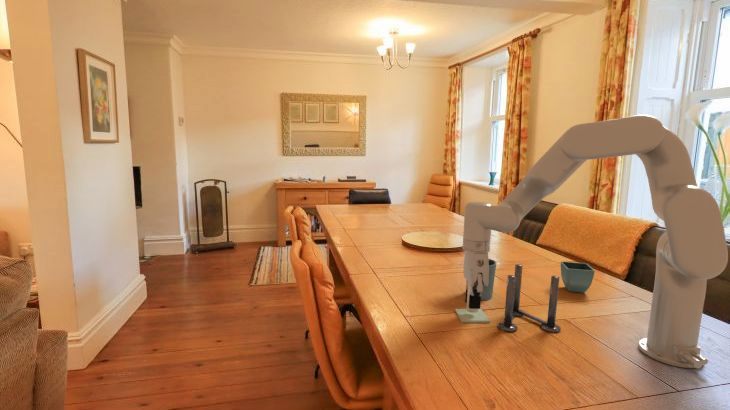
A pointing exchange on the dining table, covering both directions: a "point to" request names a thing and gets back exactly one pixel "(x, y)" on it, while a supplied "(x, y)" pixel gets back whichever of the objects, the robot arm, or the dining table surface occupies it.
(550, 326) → the upright post stand
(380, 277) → the dining table surface
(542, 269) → the dining table surface
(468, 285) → the dowel
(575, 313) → the dining table surface
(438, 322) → the dining table surface
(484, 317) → the pad
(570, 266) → the flower pot
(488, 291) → the grey teal cup
